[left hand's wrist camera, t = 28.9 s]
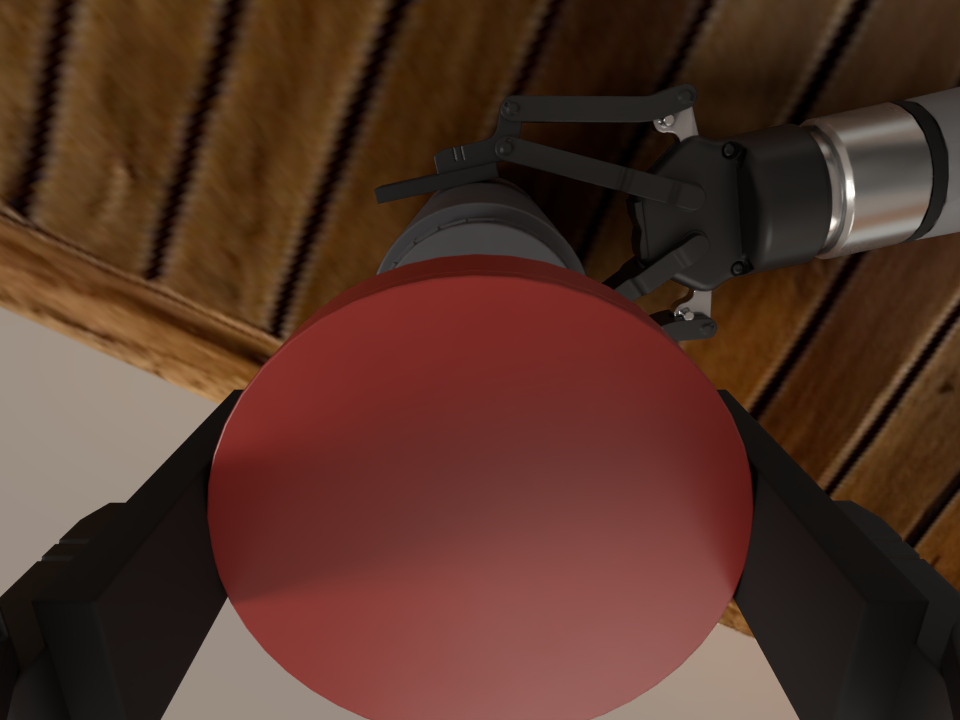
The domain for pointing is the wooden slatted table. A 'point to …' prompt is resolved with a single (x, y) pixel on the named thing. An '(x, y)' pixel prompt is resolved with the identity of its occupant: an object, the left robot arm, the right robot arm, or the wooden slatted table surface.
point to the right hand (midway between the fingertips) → (402, 278)
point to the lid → (480, 497)
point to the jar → (481, 228)
